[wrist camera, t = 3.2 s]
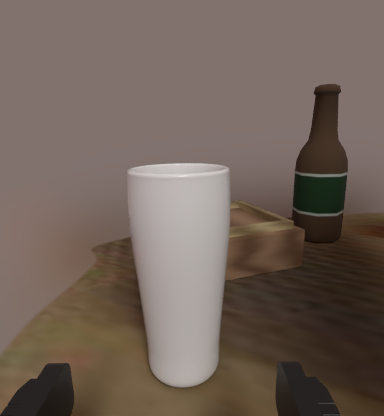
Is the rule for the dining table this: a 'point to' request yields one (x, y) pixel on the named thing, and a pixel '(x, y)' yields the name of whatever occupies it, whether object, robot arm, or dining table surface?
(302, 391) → the robot arm
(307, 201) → the beer bottle
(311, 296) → the dining table surface
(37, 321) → the dining table surface
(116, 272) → the dining table surface
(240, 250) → the wooden box
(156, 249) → the drinking glass
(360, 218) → the dining table surface
